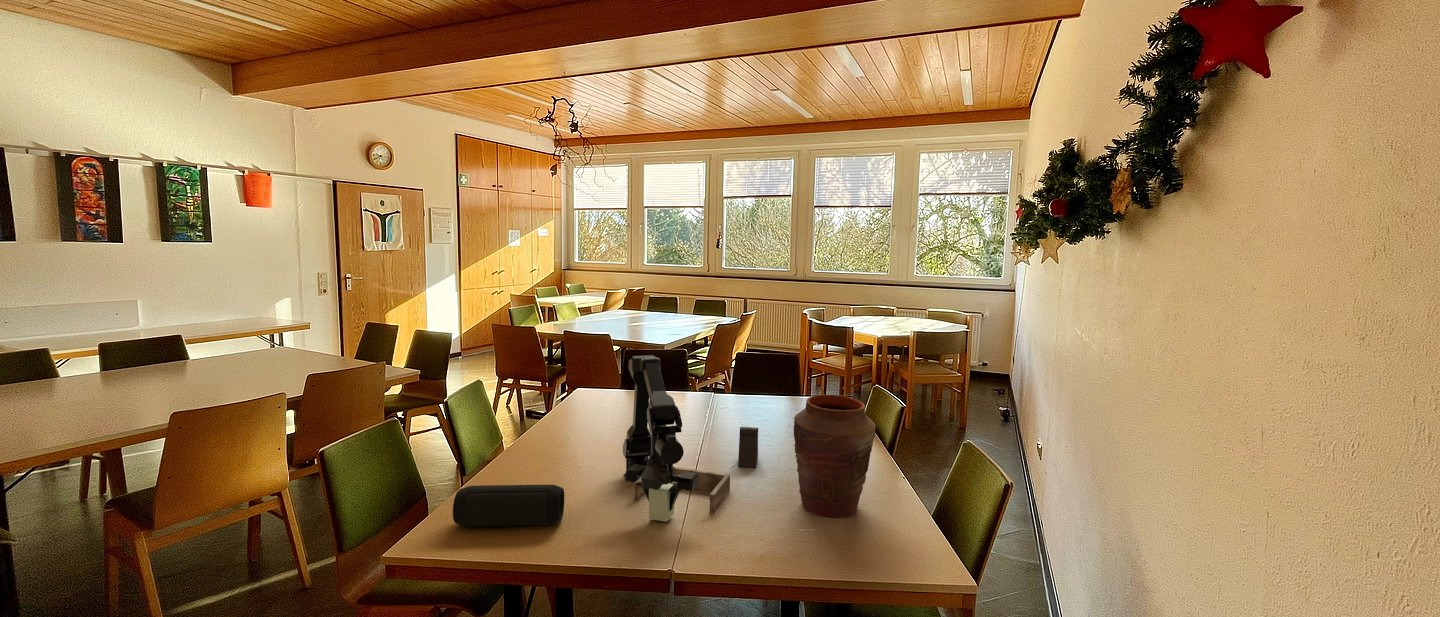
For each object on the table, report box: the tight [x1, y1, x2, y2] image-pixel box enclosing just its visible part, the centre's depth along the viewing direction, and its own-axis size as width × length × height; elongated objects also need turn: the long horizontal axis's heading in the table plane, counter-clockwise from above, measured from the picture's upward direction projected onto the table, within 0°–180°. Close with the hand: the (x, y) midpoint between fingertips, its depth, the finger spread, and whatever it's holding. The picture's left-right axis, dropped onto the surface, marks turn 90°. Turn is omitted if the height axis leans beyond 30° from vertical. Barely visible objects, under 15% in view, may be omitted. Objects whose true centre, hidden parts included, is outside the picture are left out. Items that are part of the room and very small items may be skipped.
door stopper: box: [737, 426, 759, 469], centre depth 197 cm, size 9×6×12 cm, turn 172°
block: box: [648, 483, 675, 522], centre depth 154 cm, size 5×5×8 cm
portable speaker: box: [452, 484, 565, 528], centre depth 150 cm, size 26×10×10 cm, turn 95°
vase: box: [793, 394, 877, 519], centre depth 163 cm, size 23×22×30 cm
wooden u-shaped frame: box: [633, 466, 731, 514], centre depth 170 cm, size 23×15×5 cm, turn 73°
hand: (661, 508), depth 155 cm, fingers closed on block, 5 cm apart
